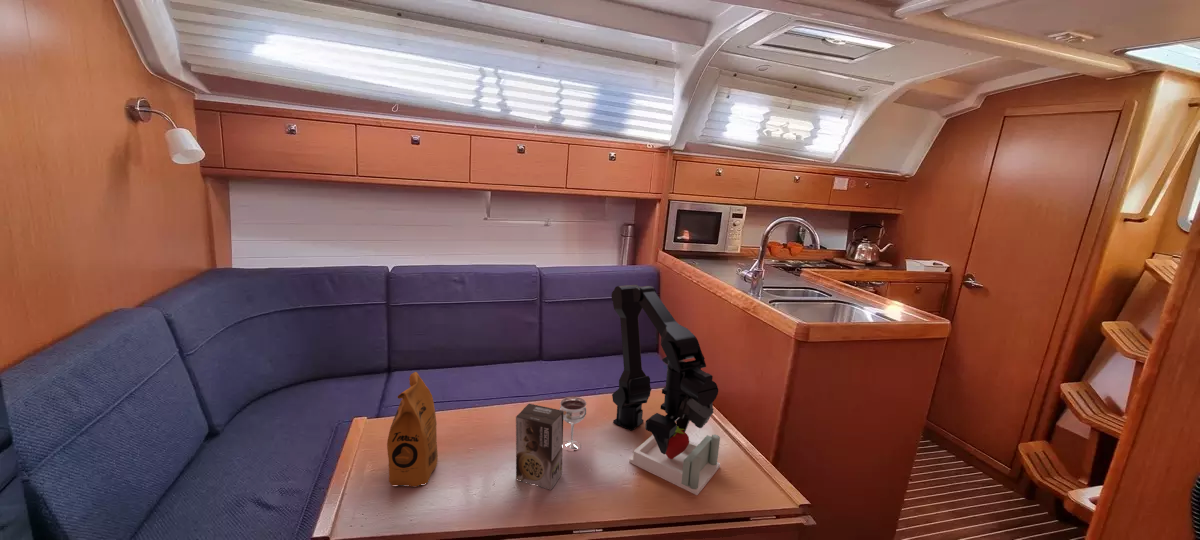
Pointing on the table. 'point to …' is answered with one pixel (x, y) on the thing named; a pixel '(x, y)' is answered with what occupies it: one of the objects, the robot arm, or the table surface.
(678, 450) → the strawberry
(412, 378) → the coffee package
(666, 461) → the cradle stand
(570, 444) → the wineglass
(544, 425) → the coffee box
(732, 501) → the table surface
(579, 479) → the table surface
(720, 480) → the table surface
